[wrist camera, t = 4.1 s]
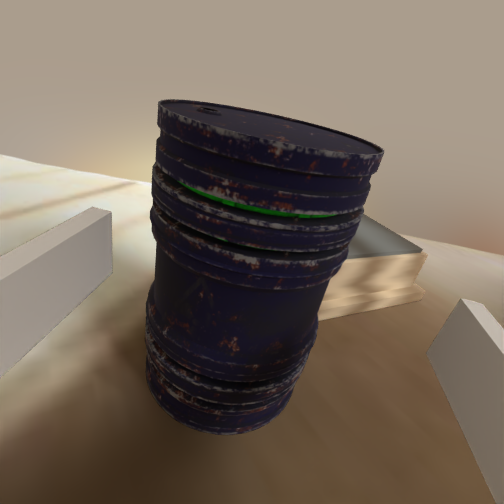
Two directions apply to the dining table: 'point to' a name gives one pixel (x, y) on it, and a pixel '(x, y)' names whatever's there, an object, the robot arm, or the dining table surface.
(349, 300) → the plinth
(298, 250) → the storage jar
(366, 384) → the dining table surface
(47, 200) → the dining table surface
